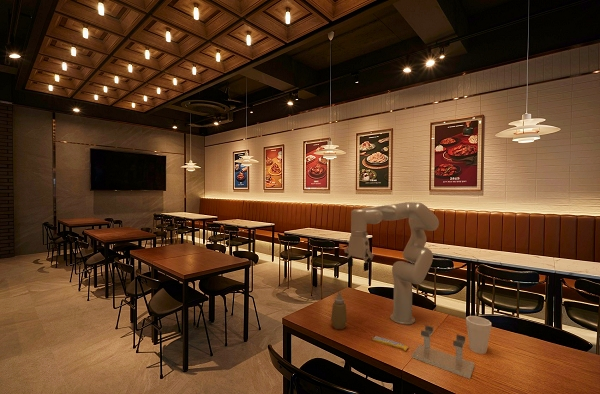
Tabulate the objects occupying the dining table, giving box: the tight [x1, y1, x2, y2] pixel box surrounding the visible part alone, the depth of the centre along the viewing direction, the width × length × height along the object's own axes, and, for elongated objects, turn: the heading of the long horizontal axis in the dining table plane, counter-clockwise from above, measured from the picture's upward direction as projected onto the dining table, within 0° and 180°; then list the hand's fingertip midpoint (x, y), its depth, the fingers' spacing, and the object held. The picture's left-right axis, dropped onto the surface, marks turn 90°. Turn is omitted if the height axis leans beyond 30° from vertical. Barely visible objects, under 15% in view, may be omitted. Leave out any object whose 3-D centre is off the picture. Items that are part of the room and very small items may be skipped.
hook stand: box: [411, 325, 475, 380], centre depth 113 cm, size 10×21×12 cm, turn 50°
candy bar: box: [370, 334, 410, 351], centre depth 127 cm, size 17×4×2 cm, turn 54°
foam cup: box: [465, 315, 492, 355], centre depth 122 cm, size 10×9×13 cm
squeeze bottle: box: [330, 291, 348, 330], centre depth 142 cm, size 8×8×18 cm
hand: (358, 268), depth 138 cm, fingers open, 9 cm apart
